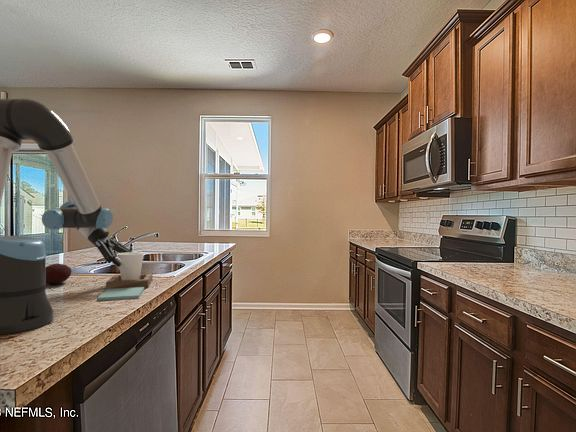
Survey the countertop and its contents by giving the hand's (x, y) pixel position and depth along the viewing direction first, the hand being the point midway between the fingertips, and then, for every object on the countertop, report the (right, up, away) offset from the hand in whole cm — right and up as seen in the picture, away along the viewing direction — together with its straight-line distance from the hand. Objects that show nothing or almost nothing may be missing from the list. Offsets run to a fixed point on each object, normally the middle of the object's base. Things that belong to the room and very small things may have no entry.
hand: (133, 268), depth 135 cm
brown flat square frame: (-1, -7, -1) cm, 7 cm away
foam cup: (-1, -7, -1) cm, 7 cm away
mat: (+4, -7, -17) cm, 19 cm away
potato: (-32, -7, +1) cm, 33 cm away
